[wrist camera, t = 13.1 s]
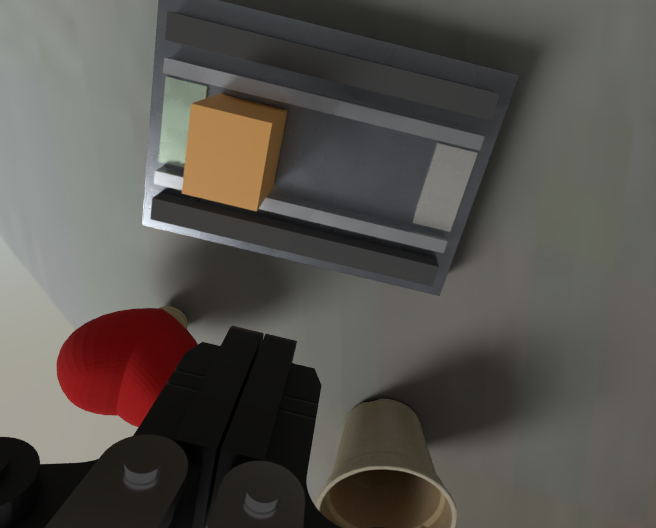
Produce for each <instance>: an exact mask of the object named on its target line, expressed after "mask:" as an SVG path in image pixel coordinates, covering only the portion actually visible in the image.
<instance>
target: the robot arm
mask: <svg viewBox="0 0 656 528" xmlns="http://www.w3.org/2000/svg"><path fill="white" fill-rule="evenodd" d="M296 343H297V341H294V340H290V339H286V338H282V337H278V336H273V335H269V334H265V336H264V339H263V333H260V332H256V331H252V330H248V329H244V328H239V327H235V326H231V327H230V329H229V331H228V333H227V335H226V337H225V339H224V341H223V343H222V345H221V346H217V345H213V344H209V343H205V342H202V343H200V344H198V345H197V346H195V347H194V348H192V349H191V350H189V351H187V352H186V353H185V354H184V355H183V357H182V359H181V360H180V362H179V363H178V365H177V367H176V368H175V371H174V372H173V373H172V375H171V376H170V378H169V379H168V381H167V384H166V385H165V386H164V387H163V389H162V391H161V392H160V394H159V395H158V397H157V399H156V400H155V402H154V403H153V405H152V407H151V408H150V410H149V412H148V413H147V415H146V416H145V418H144V420H143V421H142V423H141V424H140V426H139V428H138V429H137V431H136V432H135V434H134V435H133V436H132V437H128V438H125V439H123V440H120V441H118V442H117V443H115V444H113V445H112V446H111V447H109V448H108V449H107V450H106V451H105V452H104V453H103V454H102V455H101V457H100V458H99V459H97V460H93V461H88V462H82V463H64V464H40V460H39V456H38V453H37V451H36V450H35V449H34V447H32V446H31V445H30V444H29V443H27V442H25V441H23V440H19V439H16V438H10V437H0V528H206V527H207V528H341V527H340V526H338V525H336V524H334V523H333V522H331V521H330V520H328V519H327V518H326V517H325V516H324V515H323V514H321V512H320V511H319V510H318V509H317V508H316V506H315V505H314V503H313V502H312V500H311V498H310V496H309V493H308V490H307V484H306V478H307V470H308V464H309V458H310V452H311V446H312V440H313V433H314V427H315V420H316V415H317V409H318V403H319V397H320V391H321V383H320V381H319V378H318V376H317V373H316V371H315V369H314V368H310V367H306V366H302V365H297V364H293V363H292V361H293V357H294V352H295V348H296ZM207 524H208V525H207ZM372 528H385V527H372Z"/></svg>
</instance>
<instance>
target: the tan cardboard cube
mask: <svg viewBox="0 0 656 528" xmlns="http://www.w3.org/2000/svg"><path fill="white" fill-rule="evenodd" d="M287 111H288V110H285V109H281V108H277V107H273V106H269V105H265V104H261V103H257V102H252V101H248V100H244V99H240V98H236V97H232V96H228V95H224V94H220V93H219V94H217V95H214V96H211V97H208V98H205V99H202V100H200V101H197V102H194V103H191V110H190V120H189V129H188V138H187V148H186V157H185V167H184V176H183V185H182V194H186V195H190V196H194V197H199V198H203V199H207V200H211V201H215V202H219V203H224V204H228V205H232V206H236V207H240V208H244V209H248V210H253V211H257V210H258V209H259V207H260V206H261V204H262V203H263V201H264V200H265V198H266V197H267V195H268V194H269V192H270V191H271V189H272V188H273V186H274V181H275V176H276V170H277V165H278V160H279V154H280V149H281V143H282V138H283V133H284V127H285V122H286V116H287Z"/></svg>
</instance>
